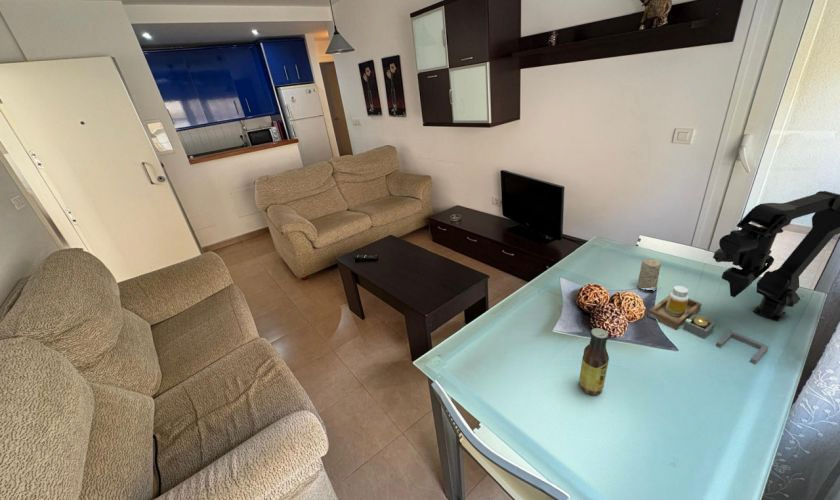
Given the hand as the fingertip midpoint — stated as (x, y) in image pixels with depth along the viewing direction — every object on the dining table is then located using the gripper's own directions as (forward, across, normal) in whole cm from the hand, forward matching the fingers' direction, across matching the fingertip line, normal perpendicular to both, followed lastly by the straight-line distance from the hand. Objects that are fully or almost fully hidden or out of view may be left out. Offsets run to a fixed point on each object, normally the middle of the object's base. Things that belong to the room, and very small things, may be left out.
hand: (739, 290), depth 106 cm
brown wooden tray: (+13, +7, -12) cm, 19 cm away
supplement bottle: (+13, +7, -12) cm, 19 cm away
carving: (+13, -1, -26) cm, 29 cm away
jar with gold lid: (+12, +10, -4) cm, 16 cm away
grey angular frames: (+13, +10, +2) cm, 17 cm away
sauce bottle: (+13, +56, -11) cm, 59 cm away
